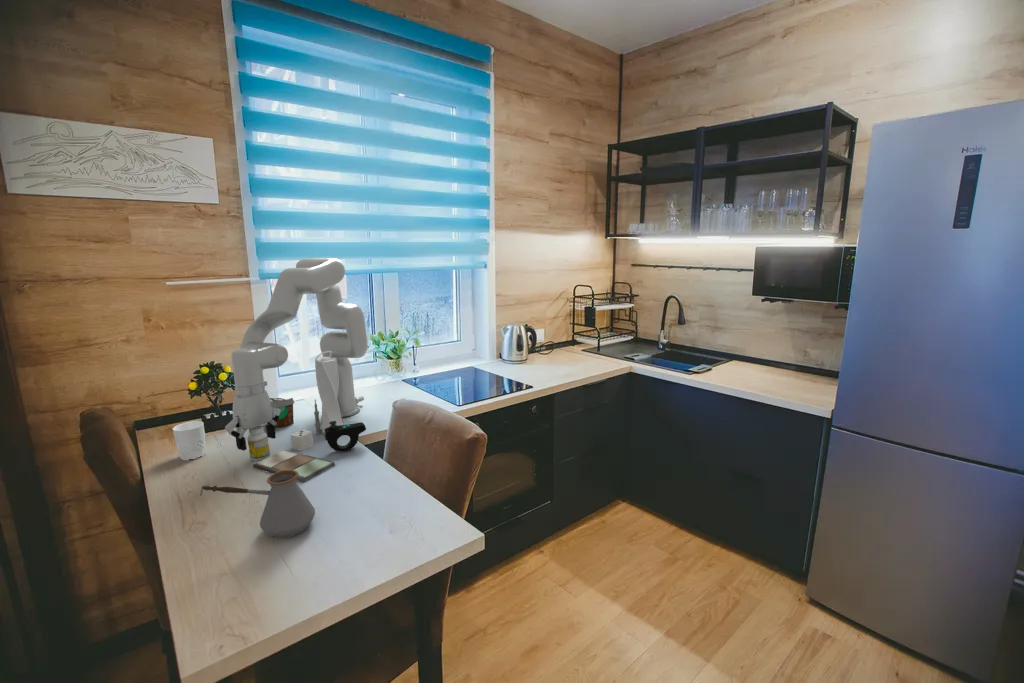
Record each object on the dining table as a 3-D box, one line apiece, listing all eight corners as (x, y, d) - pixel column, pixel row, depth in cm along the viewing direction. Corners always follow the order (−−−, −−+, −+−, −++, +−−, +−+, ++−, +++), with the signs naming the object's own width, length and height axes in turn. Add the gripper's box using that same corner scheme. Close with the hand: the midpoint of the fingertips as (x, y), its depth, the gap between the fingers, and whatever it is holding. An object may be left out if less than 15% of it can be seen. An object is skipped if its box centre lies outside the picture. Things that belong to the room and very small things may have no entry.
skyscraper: (325, 426, 170) (317, 350, 164) (347, 426, 169) (340, 350, 163) (315, 435, 161) (306, 356, 156) (338, 435, 161) (330, 356, 155)
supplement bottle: (270, 458, 144) (266, 428, 142) (250, 462, 141) (246, 432, 139) (269, 452, 148) (265, 423, 146) (249, 456, 146) (245, 427, 144)
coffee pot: (312, 508, 116) (305, 452, 113) (320, 532, 106) (313, 471, 103) (209, 537, 105) (199, 475, 102) (208, 566, 95) (197, 499, 92)
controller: (325, 451, 148) (322, 421, 146) (366, 443, 153) (363, 414, 151) (327, 456, 144) (324, 426, 142) (368, 448, 150) (366, 418, 148)
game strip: (285, 452, 148) (285, 449, 147) (334, 465, 138) (334, 461, 138) (253, 467, 138) (252, 463, 138) (303, 482, 129) (303, 478, 129)
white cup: (214, 450, 150) (209, 421, 148) (195, 462, 143) (190, 431, 140) (191, 450, 151) (186, 420, 149) (171, 461, 143) (166, 430, 141)
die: (303, 442, 155) (301, 429, 154) (313, 444, 153) (311, 431, 152) (291, 447, 151) (290, 434, 150) (301, 450, 149) (300, 436, 148)
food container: (256, 427, 169) (252, 400, 167) (269, 420, 175) (266, 395, 173) (284, 430, 166) (281, 403, 164) (297, 423, 171) (293, 397, 169)
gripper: (268, 380, 149) (274, 431, 153) (213, 396, 134) (221, 452, 137) (284, 383, 146) (290, 435, 149) (230, 399, 131) (238, 456, 134)
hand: (257, 443), depth 143 cm, fingers open, 9 cm apart
